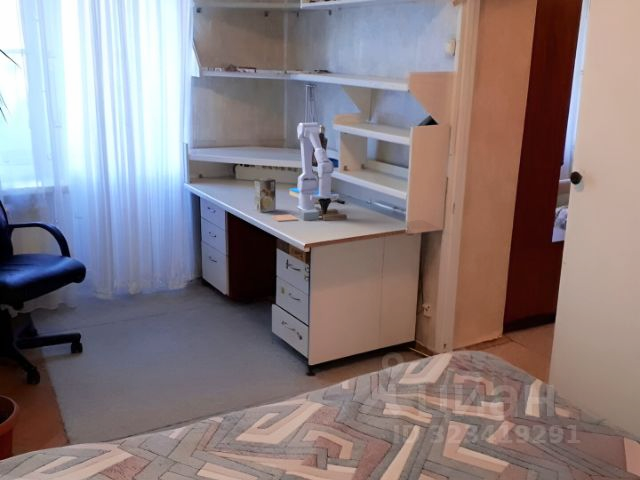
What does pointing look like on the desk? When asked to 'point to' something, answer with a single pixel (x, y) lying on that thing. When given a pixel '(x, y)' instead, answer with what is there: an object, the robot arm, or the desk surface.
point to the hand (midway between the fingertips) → (324, 213)
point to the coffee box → (265, 194)
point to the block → (309, 214)
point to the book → (296, 192)
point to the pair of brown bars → (334, 215)
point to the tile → (284, 218)
